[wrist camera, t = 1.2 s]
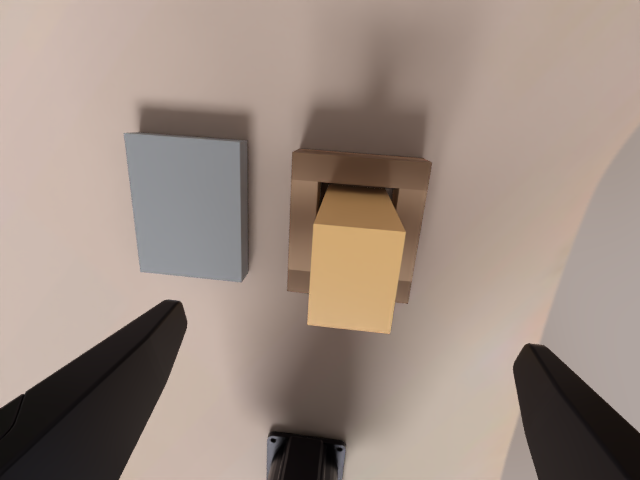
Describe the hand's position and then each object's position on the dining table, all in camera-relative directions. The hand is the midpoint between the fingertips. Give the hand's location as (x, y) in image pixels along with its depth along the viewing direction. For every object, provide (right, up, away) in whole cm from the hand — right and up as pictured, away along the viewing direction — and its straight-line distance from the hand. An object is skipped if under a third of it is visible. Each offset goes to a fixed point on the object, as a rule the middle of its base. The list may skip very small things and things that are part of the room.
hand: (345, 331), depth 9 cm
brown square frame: (+2, +4, +13) cm, 14 cm away
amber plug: (+2, +4, +13) cm, 14 cm away
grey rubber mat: (-9, +5, +14) cm, 17 cm away
